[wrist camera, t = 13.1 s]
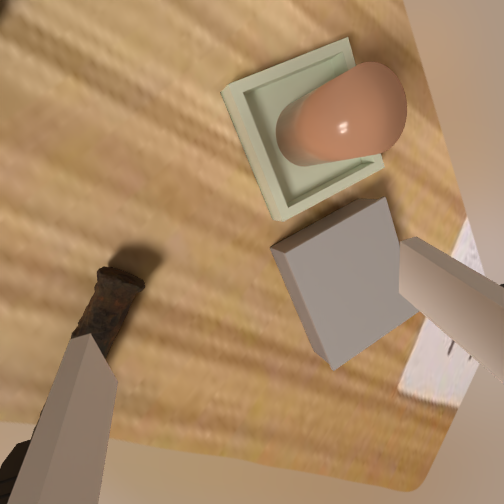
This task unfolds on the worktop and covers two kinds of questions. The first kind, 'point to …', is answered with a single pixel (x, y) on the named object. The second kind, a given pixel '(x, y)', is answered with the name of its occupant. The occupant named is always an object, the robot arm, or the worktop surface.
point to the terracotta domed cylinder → (344, 117)
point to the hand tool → (107, 308)
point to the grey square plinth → (345, 279)
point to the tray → (264, 131)
